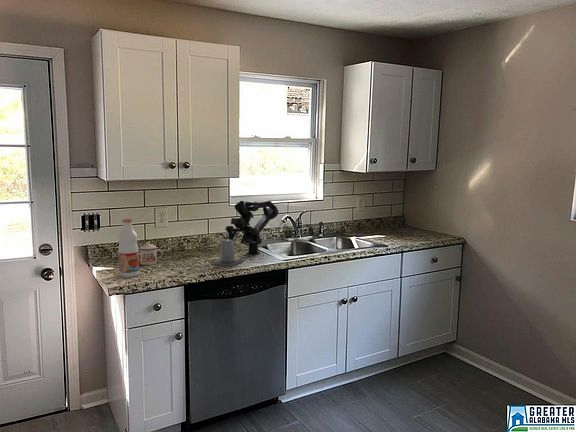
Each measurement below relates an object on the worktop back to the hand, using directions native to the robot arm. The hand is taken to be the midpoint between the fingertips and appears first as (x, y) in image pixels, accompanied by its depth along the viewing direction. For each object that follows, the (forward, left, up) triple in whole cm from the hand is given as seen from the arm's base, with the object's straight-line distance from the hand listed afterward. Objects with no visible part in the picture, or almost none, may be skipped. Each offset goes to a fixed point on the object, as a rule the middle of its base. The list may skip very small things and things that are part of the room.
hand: (235, 243), depth 270 cm
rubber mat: (+9, 0, -10) cm, 13 cm away
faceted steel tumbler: (+9, 0, -9) cm, 12 cm away
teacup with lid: (+26, -38, -10) cm, 47 cm away
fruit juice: (+50, -32, -10) cm, 60 cm away
